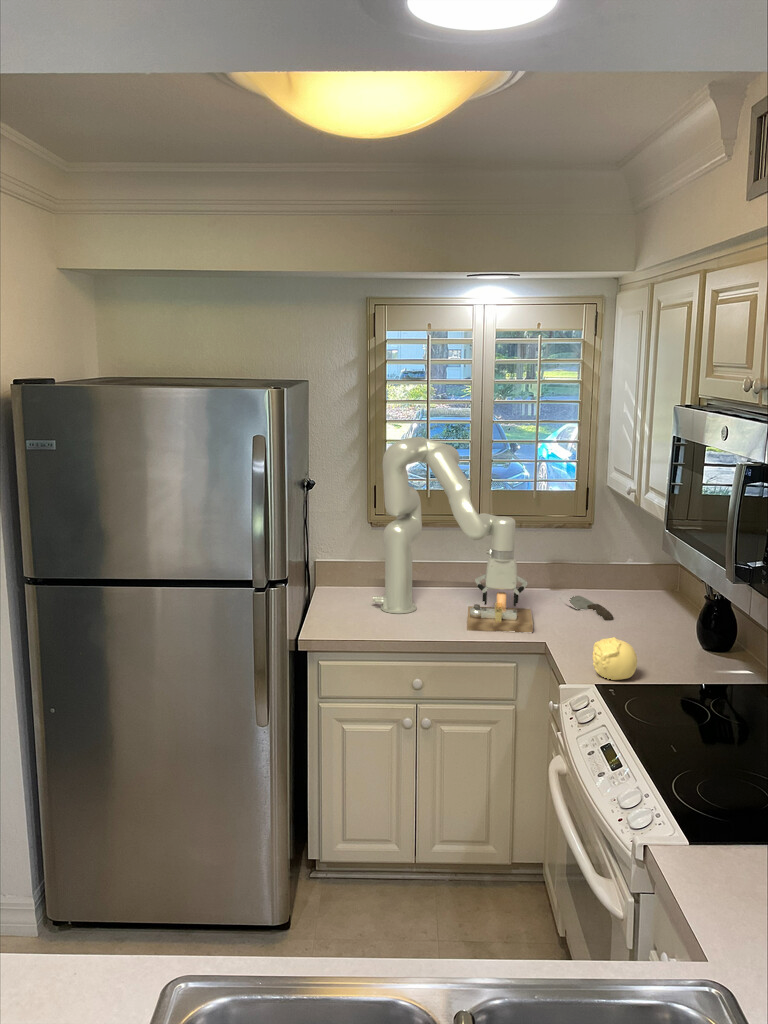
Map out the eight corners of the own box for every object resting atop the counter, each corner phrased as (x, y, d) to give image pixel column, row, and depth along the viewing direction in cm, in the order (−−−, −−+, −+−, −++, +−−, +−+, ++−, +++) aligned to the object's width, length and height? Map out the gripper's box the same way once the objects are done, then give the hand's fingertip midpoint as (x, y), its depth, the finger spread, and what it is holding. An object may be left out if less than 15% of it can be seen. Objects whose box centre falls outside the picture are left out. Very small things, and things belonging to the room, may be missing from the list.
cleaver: (619, 620, 282) (619, 614, 282) (593, 622, 280) (593, 616, 279) (578, 597, 310) (579, 592, 310) (554, 599, 308) (554, 594, 307)
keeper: (494, 621, 269) (494, 608, 269) (494, 615, 276) (494, 602, 275) (502, 622, 269) (502, 608, 268) (501, 616, 275) (502, 603, 275)
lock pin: (496, 623, 277) (496, 594, 275) (495, 620, 280) (496, 591, 278) (505, 624, 277) (506, 594, 275) (505, 621, 280) (506, 592, 278)
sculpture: (587, 668, 237) (588, 632, 235) (629, 668, 237) (631, 632, 235) (596, 684, 226) (598, 645, 224) (641, 684, 226) (643, 646, 224)
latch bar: (469, 617, 273) (469, 610, 273) (470, 613, 277) (470, 606, 277) (516, 620, 270) (516, 613, 269) (517, 616, 274) (517, 609, 274)
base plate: (466, 630, 270) (467, 609, 269) (468, 614, 287) (468, 595, 286) (532, 633, 268) (533, 612, 266) (530, 617, 284) (530, 597, 283)
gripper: (475, 555, 272) (473, 606, 275) (529, 558, 270) (526, 609, 273) (476, 550, 279) (474, 599, 282) (528, 553, 277) (525, 602, 280)
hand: (500, 604), depth 278 cm, fingers open, 9 cm apart
